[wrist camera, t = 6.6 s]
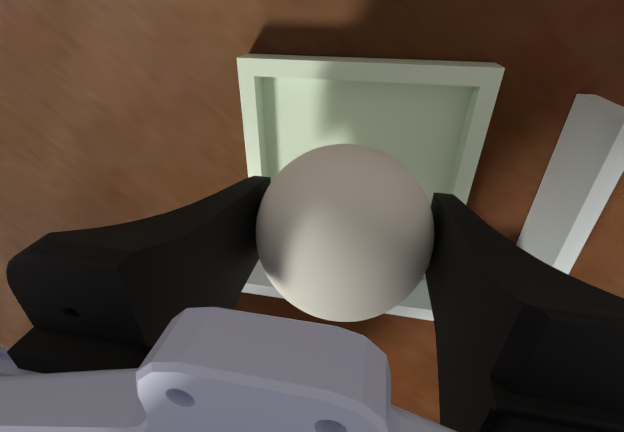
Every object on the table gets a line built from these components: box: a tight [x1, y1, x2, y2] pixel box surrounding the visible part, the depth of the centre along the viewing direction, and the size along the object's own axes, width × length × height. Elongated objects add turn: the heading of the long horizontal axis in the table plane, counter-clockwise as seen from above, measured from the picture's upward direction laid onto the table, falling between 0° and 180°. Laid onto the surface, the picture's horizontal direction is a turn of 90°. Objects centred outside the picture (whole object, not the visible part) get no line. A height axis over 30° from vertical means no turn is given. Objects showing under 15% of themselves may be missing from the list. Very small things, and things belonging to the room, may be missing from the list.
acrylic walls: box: [242, 94, 624, 321], centre depth 14 cm, size 13×9×3 cm
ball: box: [256, 144, 434, 322], centre depth 11 cm, size 6×6×6 cm
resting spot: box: [237, 53, 505, 278], centre depth 15 cm, size 9×9×1 cm
